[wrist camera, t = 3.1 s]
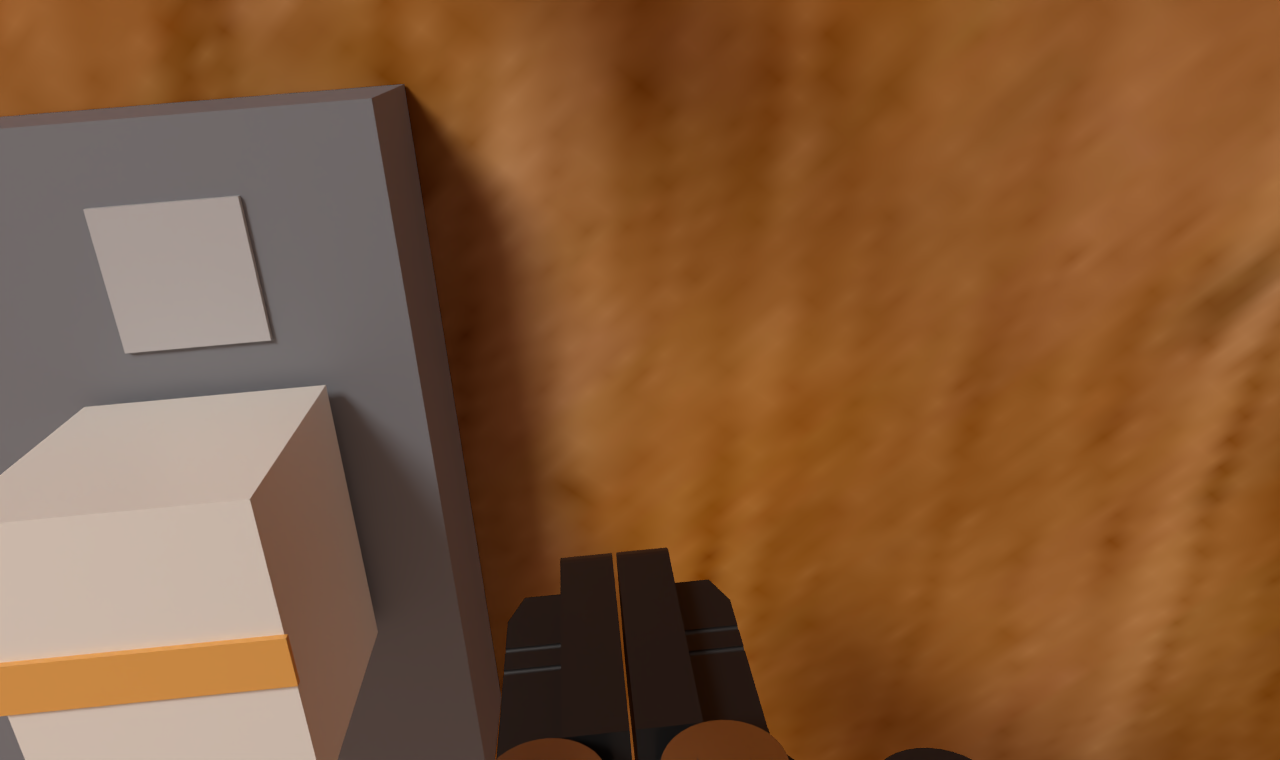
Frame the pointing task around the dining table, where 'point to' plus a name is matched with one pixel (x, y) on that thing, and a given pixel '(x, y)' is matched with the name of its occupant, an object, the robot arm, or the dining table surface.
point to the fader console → (264, 342)
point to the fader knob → (183, 583)
